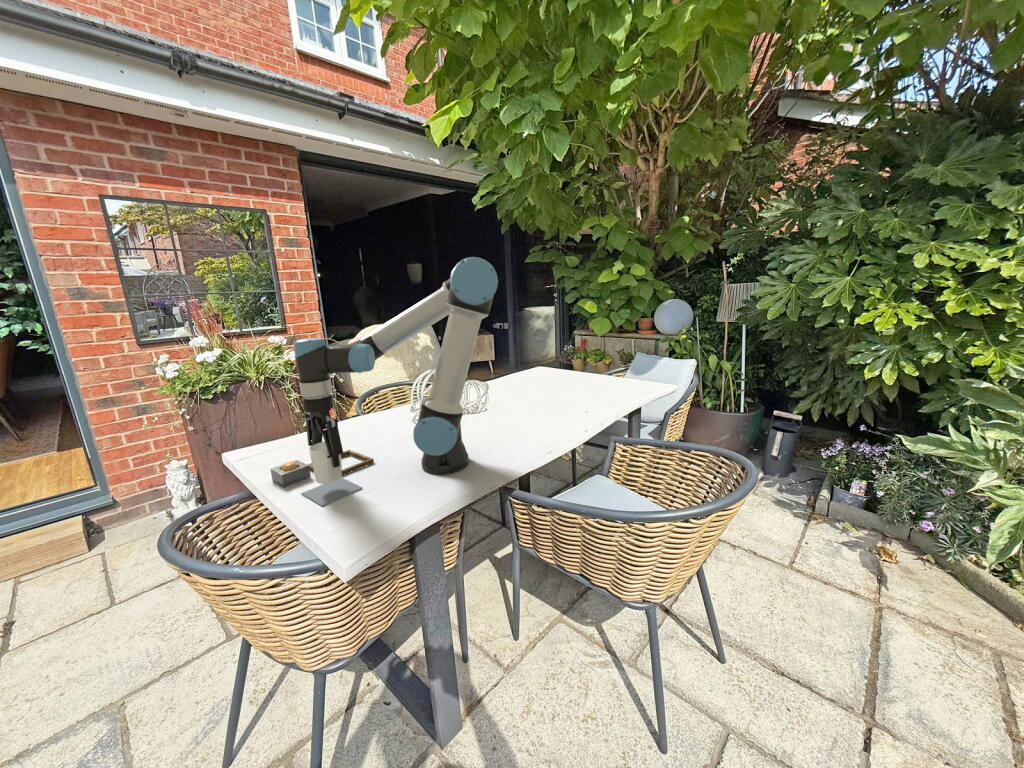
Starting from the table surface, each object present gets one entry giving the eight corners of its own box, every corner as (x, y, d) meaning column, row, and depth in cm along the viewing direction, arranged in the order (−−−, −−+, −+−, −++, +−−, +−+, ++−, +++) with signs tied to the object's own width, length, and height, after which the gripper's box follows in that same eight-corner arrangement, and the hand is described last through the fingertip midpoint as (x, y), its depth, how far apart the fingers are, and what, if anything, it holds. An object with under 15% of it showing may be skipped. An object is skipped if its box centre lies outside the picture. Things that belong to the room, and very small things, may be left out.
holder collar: (373, 463, 133) (373, 458, 132) (330, 480, 121) (330, 475, 121) (349, 453, 142) (349, 449, 141) (307, 468, 130) (306, 464, 130)
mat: (362, 488, 115) (362, 487, 115) (322, 506, 106) (321, 505, 106) (341, 478, 122) (340, 477, 122) (301, 494, 113) (301, 493, 113)
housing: (310, 477, 124) (308, 465, 123) (283, 487, 118) (281, 475, 117) (299, 471, 129) (297, 459, 128) (272, 480, 123) (270, 468, 122)
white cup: (325, 487, 108) (319, 453, 106) (308, 481, 112) (302, 448, 110) (350, 476, 114) (345, 443, 112) (333, 470, 118) (328, 439, 116)
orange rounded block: (300, 475, 123) (298, 463, 122) (287, 480, 120) (285, 468, 119) (294, 472, 126) (292, 460, 125) (281, 477, 123) (279, 464, 122)
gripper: (350, 397, 104) (360, 477, 109) (313, 388, 117) (323, 460, 122) (322, 404, 99) (334, 488, 104) (286, 394, 111) (298, 469, 116)
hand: (328, 473), depth 113 cm, fingers closed on white cup, 7 cm apart
